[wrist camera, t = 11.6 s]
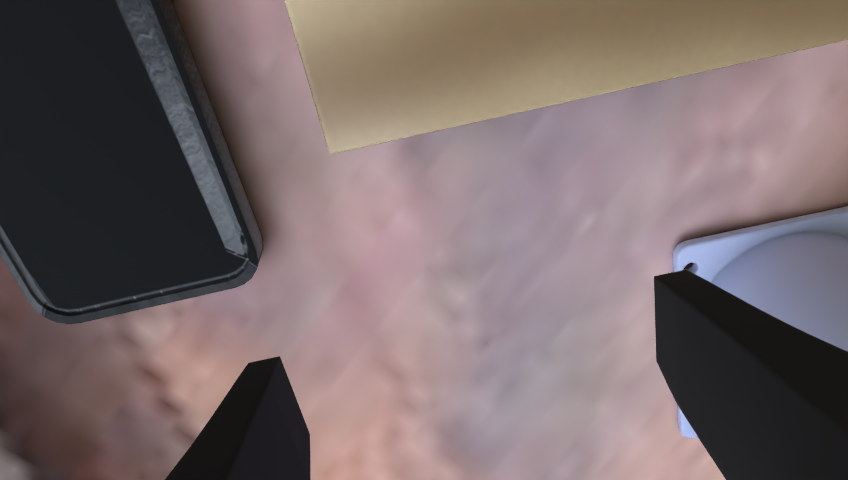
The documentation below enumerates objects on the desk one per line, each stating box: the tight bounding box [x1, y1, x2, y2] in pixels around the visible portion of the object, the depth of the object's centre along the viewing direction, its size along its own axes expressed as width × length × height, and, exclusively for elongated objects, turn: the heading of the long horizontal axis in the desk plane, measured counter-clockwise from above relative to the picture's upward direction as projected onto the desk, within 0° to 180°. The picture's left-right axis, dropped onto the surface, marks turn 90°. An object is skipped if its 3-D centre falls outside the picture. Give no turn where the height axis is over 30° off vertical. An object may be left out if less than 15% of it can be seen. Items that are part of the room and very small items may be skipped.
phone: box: [0, 0, 263, 324], centre depth 19 cm, size 8×1×15 cm
